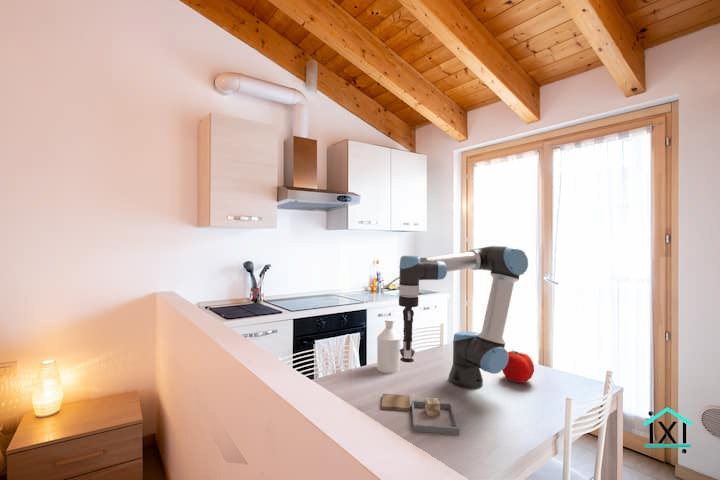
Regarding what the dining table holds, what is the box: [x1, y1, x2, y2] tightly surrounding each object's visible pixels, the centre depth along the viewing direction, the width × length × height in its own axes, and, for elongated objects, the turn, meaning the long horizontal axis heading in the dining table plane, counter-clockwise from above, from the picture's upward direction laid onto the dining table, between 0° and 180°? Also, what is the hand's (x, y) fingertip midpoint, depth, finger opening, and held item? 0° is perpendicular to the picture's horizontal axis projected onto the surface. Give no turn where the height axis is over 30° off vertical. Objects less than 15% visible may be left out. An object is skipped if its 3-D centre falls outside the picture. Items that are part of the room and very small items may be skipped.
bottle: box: [376, 318, 402, 374], centre depth 179 cm, size 12×12×25 cm
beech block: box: [424, 397, 441, 416], centre depth 136 cm, size 4×4×4 cm
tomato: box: [501, 349, 535, 384], centre depth 167 cm, size 16×14×14 cm
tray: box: [411, 400, 461, 435], centre depth 131 cm, size 16×19×2 cm
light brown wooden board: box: [381, 393, 411, 412], centre depth 142 cm, size 11×11×1 cm
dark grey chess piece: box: [400, 332, 416, 363], centre depth 137 cm, size 6×6×12 cm
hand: (407, 355), depth 137 cm, fingers closed on dark grey chess piece, 6 cm apart
